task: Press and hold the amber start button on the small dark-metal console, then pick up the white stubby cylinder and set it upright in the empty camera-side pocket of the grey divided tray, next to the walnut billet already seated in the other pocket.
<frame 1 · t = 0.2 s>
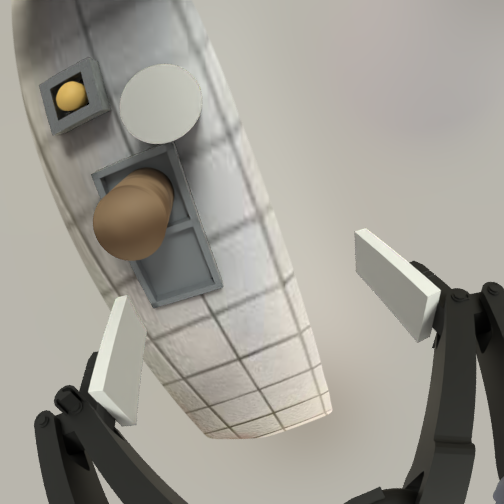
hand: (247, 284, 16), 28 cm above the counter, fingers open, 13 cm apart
grey divided tray: (160, 227, 42), on the counter
console: (80, 97, 31), on the counter
button: (73, 96, 28), point 2 cm above the counter, slide at 1.5 cm
billet: (146, 195, 38), point 1 cm above the counter, touching grey divided tray
white stubby cylinder: (171, 107, 34), on the counter
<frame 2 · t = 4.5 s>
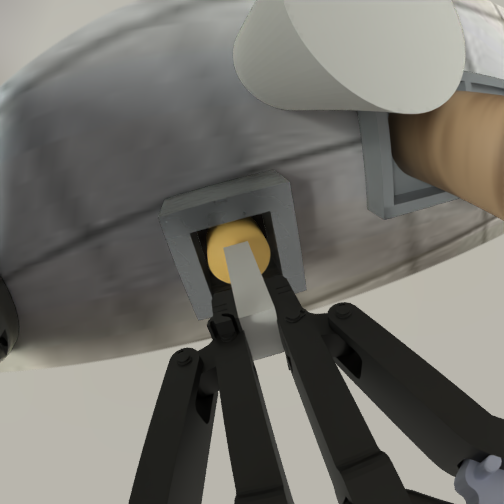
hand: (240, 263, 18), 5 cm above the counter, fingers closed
grey divided tray: (453, 129, 21), on the counter
console: (232, 233, 22), on the counter
button: (236, 247, 20), point 2 cm above the counter, slide at 1.5 cm
billet: (422, 133, 20), point 1 cm above the counter, touching grey divided tray
white stubby cylinder: (290, 58, 17), on the counter
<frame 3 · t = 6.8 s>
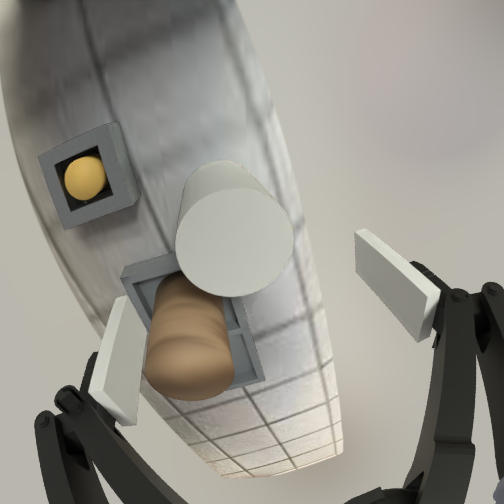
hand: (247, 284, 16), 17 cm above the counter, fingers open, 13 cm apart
grey divided tray: (202, 327, 37), on the counter
console: (96, 171, 26), on the counter
button: (88, 176, 24), point 2 cm above the counter, slide at 1.5 cm
billet: (188, 298, 34), point 1 cm above the counter, touching grey divided tray
white stubby cylinder: (221, 197, 30), on the counter
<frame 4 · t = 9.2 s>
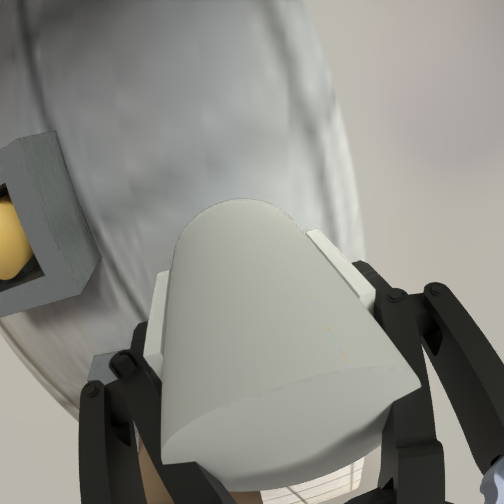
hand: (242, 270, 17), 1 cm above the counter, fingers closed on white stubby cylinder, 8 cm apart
grey divided tray: (210, 418, 25), on the counter
console: (27, 217, 14), on the counter
button: (8, 233, 11), point 2 cm above the counter, slide at 1.5 cm
billet: (190, 396, 21), point 1 cm above the counter, touching grey divided tray
white stubby cylinder: (240, 262, 18), on the counter, touching gripper
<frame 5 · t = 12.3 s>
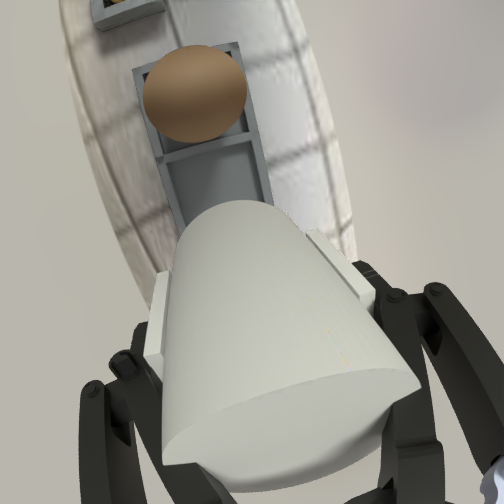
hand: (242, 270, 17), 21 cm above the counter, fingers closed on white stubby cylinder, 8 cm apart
grey divided tray: (206, 144, 33), on the counter
billet: (195, 101, 30), point 1 cm above the counter, touching grey divided tray
white stubby cylinder: (240, 263, 18), point 20 cm above the counter, touching gripper
when the fingers open (4 cm above the counter, at t = 15.8 s): white stubby cylinder drops 3 cm, resting on grey divided tray.
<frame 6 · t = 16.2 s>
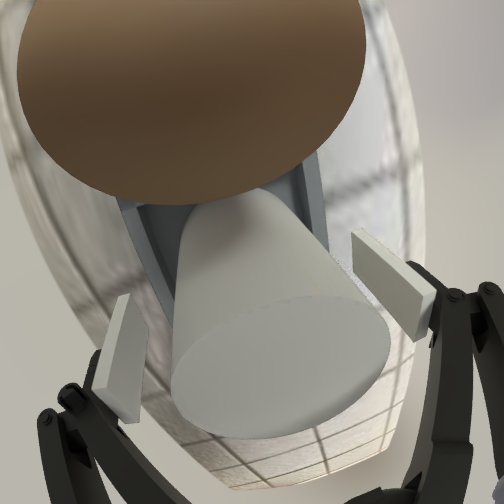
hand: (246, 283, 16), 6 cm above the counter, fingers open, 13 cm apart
grey divided tray: (214, 166, 18), on the counter
billet: (193, 84, 15), point 1 cm above the counter, touching grey divided tray
white stubby cylinder: (239, 242, 20), point 1 cm above the counter, touching grey divided tray
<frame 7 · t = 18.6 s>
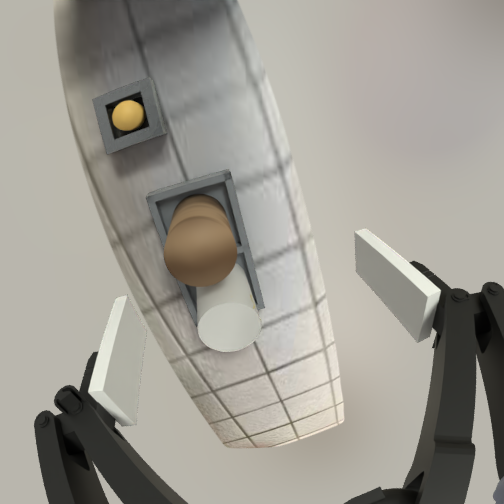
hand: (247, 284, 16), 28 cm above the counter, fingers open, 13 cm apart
grey divided tray: (209, 251, 45), on the counter
console: (133, 116, 35), on the counter
button: (129, 115, 32), point 2 cm above the counter, slide at 1.5 cm
billet: (199, 220, 42), point 1 cm above the counter, touching grey divided tray
white stubby cylinder: (221, 281, 47), point 1 cm above the counter, touching grey divided tray
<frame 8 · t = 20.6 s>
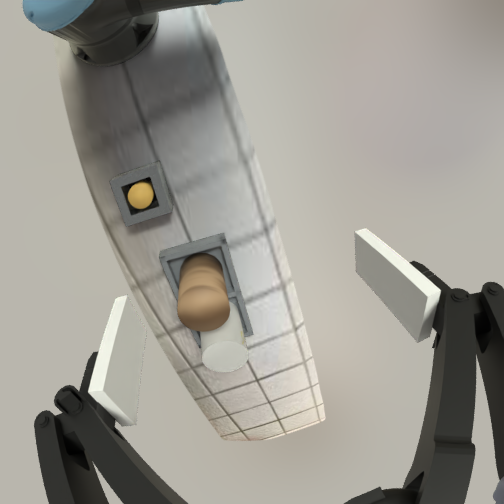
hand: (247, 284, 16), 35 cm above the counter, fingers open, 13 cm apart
grey divided tray: (209, 293, 57), on the counter
console: (144, 190, 45), on the counter
button: (141, 193, 43), point 2 cm above the counter, slide at 1.5 cm
billet: (201, 272, 53), point 1 cm above the counter, touching grey divided tray
white stubby cylinder: (219, 315, 59), point 1 cm above the counter, touching grey divided tray
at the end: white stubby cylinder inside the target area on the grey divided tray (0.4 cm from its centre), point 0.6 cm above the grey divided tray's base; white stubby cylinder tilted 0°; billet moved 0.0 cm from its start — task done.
